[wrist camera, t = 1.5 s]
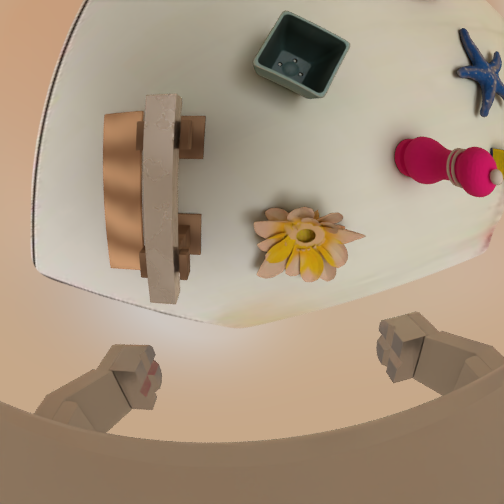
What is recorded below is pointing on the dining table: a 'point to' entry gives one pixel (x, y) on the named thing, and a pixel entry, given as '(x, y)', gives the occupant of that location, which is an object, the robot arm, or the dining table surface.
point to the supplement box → (498, 159)
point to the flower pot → (301, 56)
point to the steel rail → (161, 195)
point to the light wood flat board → (123, 189)
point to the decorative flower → (303, 243)
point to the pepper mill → (448, 165)
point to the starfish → (482, 72)
